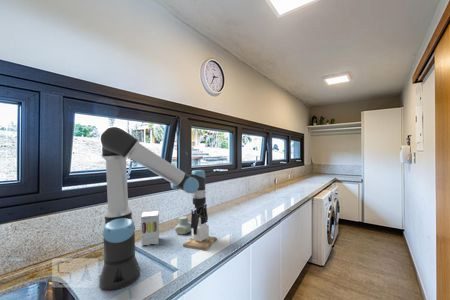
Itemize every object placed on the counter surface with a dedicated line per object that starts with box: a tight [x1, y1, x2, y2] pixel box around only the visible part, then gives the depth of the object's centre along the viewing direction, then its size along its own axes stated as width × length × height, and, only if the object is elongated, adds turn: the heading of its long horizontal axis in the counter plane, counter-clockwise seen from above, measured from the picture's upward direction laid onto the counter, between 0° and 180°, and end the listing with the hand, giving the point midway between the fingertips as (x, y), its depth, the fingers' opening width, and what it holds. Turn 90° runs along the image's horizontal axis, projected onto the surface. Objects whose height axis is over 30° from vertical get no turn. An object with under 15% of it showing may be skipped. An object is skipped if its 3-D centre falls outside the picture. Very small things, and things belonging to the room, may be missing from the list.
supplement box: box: [140, 210, 160, 246], centre depth 119 cm, size 10×9×17 cm
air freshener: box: [174, 215, 192, 236], centre depth 132 cm, size 11×8×10 cm
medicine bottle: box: [191, 216, 210, 241], centre depth 116 cm, size 7×7×12 cm
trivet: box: [182, 235, 217, 252], centre depth 116 cm, size 14×14×2 cm
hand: (200, 236), depth 116 cm, fingers closed on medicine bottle, 8 cm apart
